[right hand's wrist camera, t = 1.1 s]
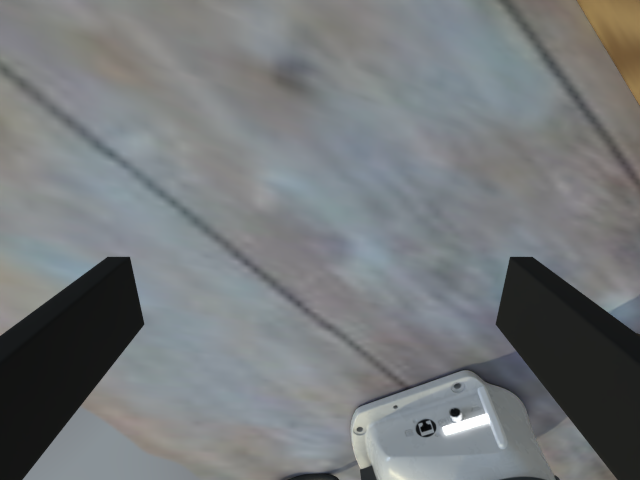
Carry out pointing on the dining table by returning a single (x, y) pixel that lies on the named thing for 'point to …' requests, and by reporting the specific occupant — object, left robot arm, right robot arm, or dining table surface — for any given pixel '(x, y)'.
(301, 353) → the dining table surface
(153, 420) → the dining table surface
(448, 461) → the left robot arm
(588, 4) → the bar
